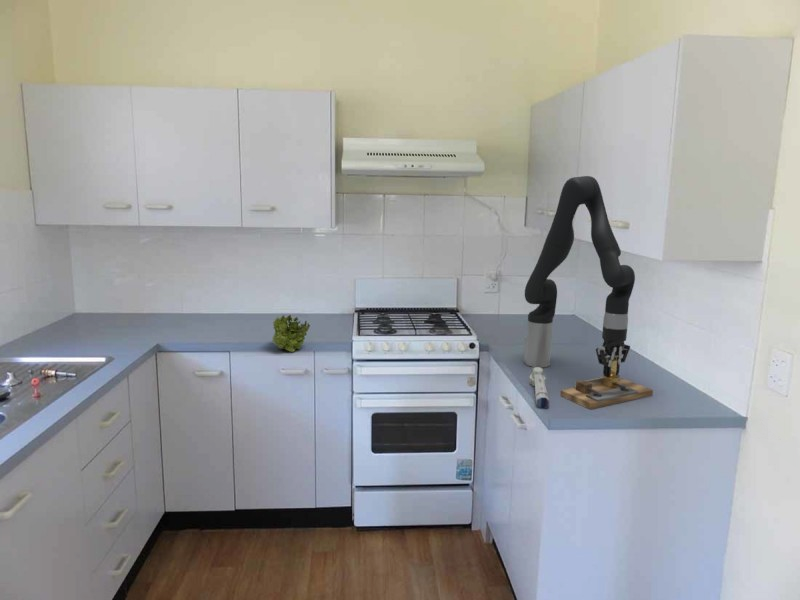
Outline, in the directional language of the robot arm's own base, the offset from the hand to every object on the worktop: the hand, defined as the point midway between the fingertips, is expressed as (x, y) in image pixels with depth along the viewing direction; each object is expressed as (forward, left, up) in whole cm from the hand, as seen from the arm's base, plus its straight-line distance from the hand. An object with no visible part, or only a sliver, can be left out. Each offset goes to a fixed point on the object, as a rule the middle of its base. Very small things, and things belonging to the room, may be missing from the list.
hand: (610, 375), depth 190 cm
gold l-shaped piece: (+2, 0, -3) cm, 4 cm away
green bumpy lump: (-94, -82, -6) cm, 125 cm away
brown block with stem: (+2, -12, -4) cm, 13 cm away
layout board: (+2, -4, -6) cm, 7 cm away
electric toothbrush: (-8, -23, -6) cm, 25 cm away
